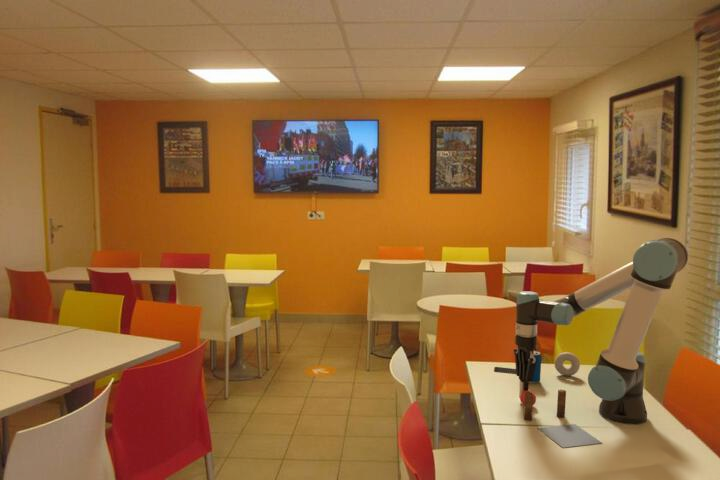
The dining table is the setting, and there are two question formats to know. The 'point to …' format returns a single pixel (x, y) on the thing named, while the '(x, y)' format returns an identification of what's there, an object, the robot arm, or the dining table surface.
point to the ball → (522, 397)
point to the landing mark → (569, 436)
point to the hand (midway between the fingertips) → (523, 397)
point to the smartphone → (505, 370)
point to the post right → (561, 403)
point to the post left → (528, 406)
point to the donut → (570, 357)
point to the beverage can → (537, 368)
